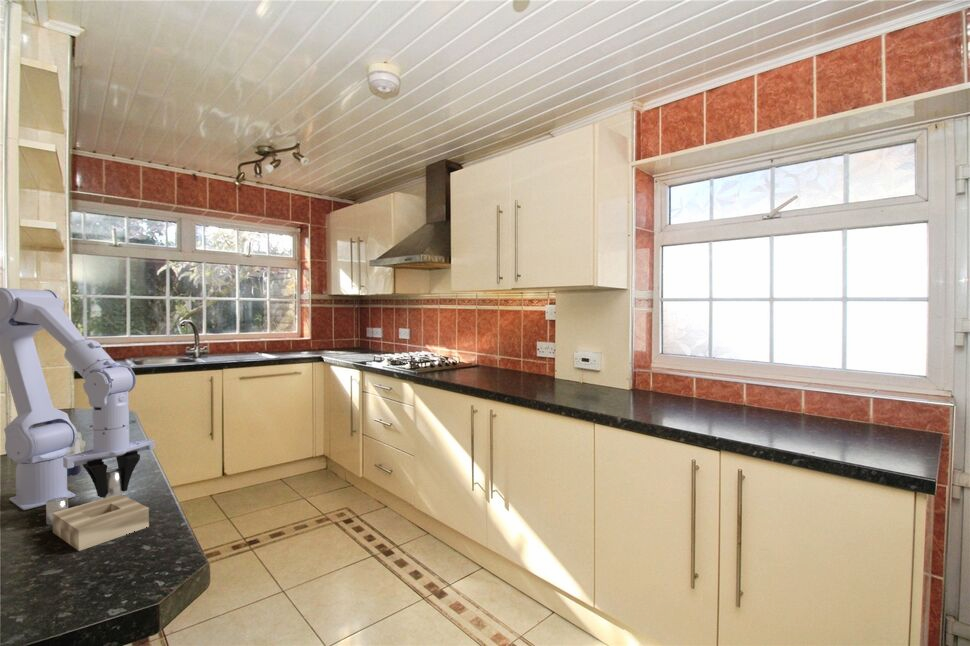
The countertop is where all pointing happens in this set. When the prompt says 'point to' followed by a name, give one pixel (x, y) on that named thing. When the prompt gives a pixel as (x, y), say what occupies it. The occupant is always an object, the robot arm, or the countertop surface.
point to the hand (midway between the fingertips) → (112, 493)
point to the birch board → (100, 521)
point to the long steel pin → (113, 482)
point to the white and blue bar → (76, 449)
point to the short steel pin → (55, 507)
